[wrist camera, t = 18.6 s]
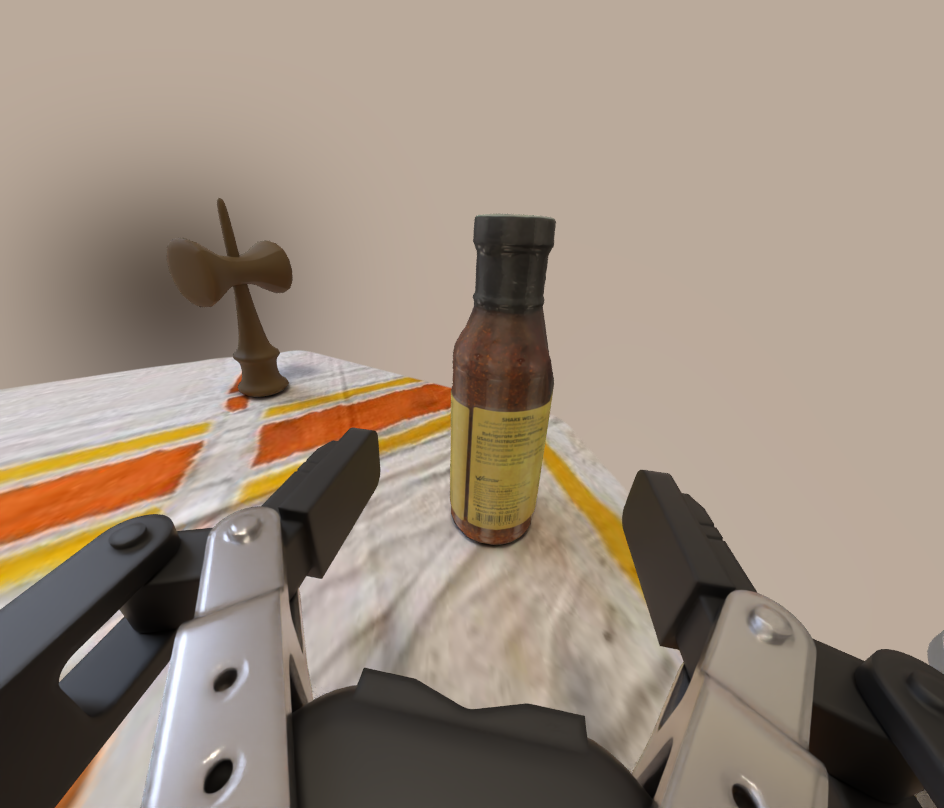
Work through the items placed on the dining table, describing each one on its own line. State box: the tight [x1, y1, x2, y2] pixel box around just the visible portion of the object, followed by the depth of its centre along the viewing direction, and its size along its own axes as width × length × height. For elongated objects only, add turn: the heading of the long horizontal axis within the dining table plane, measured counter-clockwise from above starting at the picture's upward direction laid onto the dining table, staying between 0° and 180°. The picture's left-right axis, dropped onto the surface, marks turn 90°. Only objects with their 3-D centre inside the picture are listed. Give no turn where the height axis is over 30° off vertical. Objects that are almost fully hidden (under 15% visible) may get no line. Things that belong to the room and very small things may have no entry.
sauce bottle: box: [450, 214, 556, 545], centre depth 21 cm, size 7×6×20 cm
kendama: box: [167, 198, 292, 397], centre depth 36 cm, size 6×10×20 cm, turn 158°
